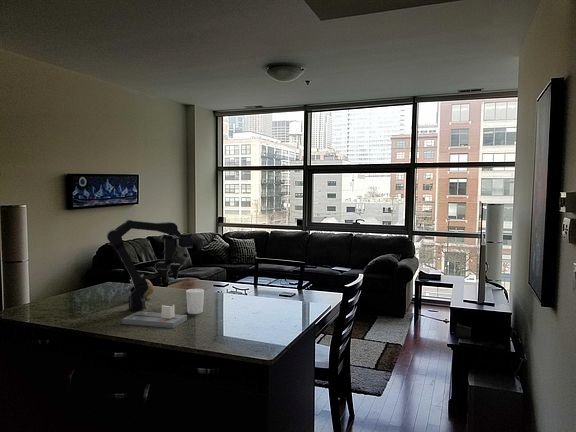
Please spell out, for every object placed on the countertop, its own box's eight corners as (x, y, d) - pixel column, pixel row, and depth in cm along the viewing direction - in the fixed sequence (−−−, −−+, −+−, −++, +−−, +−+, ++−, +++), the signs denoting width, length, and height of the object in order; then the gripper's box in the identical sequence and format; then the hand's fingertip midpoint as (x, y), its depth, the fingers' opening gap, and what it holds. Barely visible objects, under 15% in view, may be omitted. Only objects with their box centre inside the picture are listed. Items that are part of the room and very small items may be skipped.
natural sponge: (157, 297, 225) (157, 278, 224) (146, 301, 216) (146, 281, 216) (143, 295, 228) (143, 277, 227) (131, 299, 219) (131, 280, 219)
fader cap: (161, 318, 179) (161, 305, 179) (165, 315, 183) (165, 303, 182) (170, 318, 178) (170, 305, 178) (174, 316, 182) (174, 303, 181)
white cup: (199, 315, 192) (199, 292, 192) (183, 314, 194) (183, 291, 194) (206, 310, 200) (206, 289, 200) (190, 309, 202) (190, 288, 201)
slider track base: (122, 323, 179) (122, 318, 179) (138, 315, 190) (138, 310, 190) (173, 328, 173) (173, 322, 173) (187, 319, 185) (187, 314, 185)
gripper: (176, 251, 195) (176, 286, 196) (194, 247, 213) (194, 278, 214) (154, 250, 198) (154, 284, 199) (174, 246, 216) (174, 277, 217)
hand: (170, 281), depth 207 cm, fingers open, 9 cm apart
